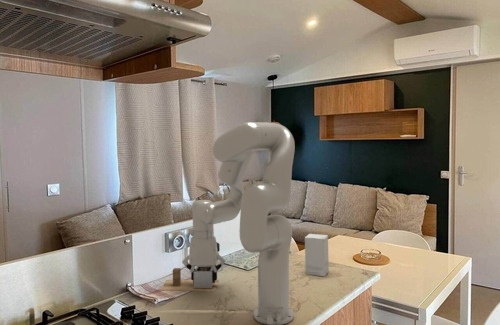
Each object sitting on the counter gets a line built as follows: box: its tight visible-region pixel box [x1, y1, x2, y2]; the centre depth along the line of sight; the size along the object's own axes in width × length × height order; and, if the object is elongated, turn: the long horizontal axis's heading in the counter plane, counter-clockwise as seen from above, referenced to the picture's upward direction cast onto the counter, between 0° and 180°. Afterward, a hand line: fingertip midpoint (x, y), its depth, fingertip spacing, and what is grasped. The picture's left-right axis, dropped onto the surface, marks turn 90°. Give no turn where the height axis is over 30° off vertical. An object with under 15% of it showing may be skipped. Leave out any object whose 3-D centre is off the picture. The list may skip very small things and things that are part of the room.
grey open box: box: [194, 266, 214, 288], centre depth 141 cm, size 7×7×6 cm
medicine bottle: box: [216, 242, 223, 272], centre depth 159 cm, size 7×7×12 cm
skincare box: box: [304, 233, 330, 277], centre depth 155 cm, size 8×7×16 cm
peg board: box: [159, 267, 220, 292], centre depth 141 cm, size 10×20×7 cm, turn 88°
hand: (204, 281), depth 141 cm, fingers closed on grey open box, 6 cm apart
